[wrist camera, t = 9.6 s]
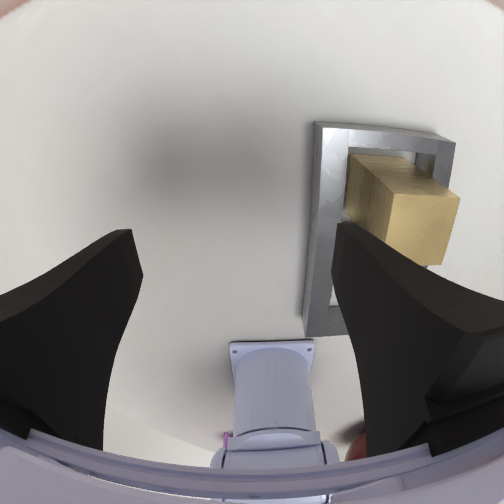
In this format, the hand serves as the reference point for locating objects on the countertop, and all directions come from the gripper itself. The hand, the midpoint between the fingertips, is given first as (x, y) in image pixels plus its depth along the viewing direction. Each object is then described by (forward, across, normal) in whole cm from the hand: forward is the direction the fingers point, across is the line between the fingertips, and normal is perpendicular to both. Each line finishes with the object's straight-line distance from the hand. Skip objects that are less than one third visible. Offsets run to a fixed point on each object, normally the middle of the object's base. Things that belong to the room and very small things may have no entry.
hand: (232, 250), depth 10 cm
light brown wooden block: (+10, -9, +1) cm, 13 cm away
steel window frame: (+10, -9, +5) cm, 14 cm away
